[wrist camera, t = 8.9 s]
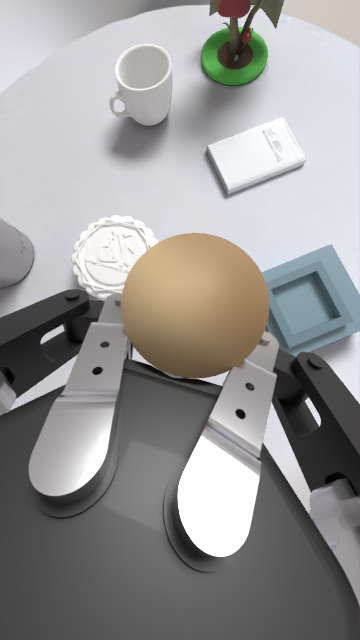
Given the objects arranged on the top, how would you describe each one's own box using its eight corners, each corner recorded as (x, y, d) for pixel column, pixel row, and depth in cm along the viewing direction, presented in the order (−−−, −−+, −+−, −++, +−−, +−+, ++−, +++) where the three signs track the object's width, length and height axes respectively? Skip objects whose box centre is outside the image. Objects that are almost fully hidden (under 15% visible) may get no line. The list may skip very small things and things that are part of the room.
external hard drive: (205, 154, 31) (278, 126, 31) (226, 198, 30) (301, 168, 30) (206, 144, 29) (283, 114, 29) (228, 189, 28) (307, 158, 28)
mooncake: (173, 238, 29) (171, 223, 25) (149, 315, 27) (143, 311, 24) (98, 219, 30) (85, 202, 26) (71, 293, 28) (54, 286, 25)
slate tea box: (258, 366, 26) (271, 370, 22) (224, 292, 27) (230, 283, 23) (354, 326, 26) (384, 323, 22) (315, 254, 27) (337, 239, 23)
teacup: (157, 85, 32) (151, 33, 27) (183, 117, 31) (183, 70, 26) (106, 117, 32) (90, 70, 26) (131, 150, 31) (119, 109, 25)
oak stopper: (175, 365, 17) (152, 402, 6) (156, 316, 17) (101, 265, 6) (225, 344, 17) (296, 342, 6) (204, 296, 17) (231, 212, 6)
